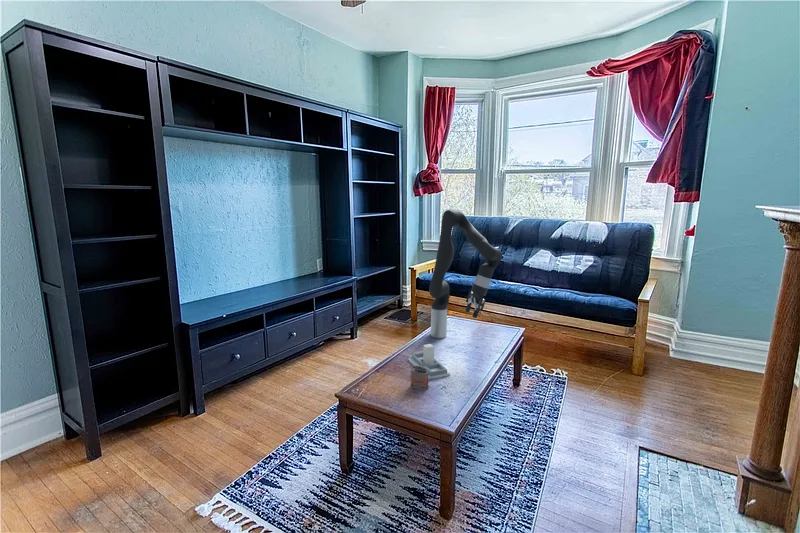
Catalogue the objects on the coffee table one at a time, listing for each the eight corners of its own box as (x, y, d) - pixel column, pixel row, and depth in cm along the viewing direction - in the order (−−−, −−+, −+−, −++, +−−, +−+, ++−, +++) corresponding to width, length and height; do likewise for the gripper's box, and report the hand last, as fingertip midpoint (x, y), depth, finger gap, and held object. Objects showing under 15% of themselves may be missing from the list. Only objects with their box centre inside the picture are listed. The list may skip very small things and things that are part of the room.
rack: (408, 360, 197) (408, 354, 196) (429, 356, 201) (429, 351, 201) (427, 379, 177) (427, 373, 176) (450, 375, 181) (450, 368, 181)
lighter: (429, 386, 170) (429, 365, 169) (427, 390, 167) (427, 368, 165) (411, 383, 173) (412, 362, 171) (409, 387, 170) (409, 366, 168)
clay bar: (423, 364, 190) (423, 345, 188) (430, 363, 191) (430, 343, 189) (426, 367, 187) (426, 347, 185) (433, 365, 188) (434, 346, 186)
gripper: (468, 279, 202) (458, 308, 204) (481, 286, 188) (470, 317, 191) (481, 283, 204) (470, 311, 206) (494, 290, 191) (483, 321, 193)
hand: (470, 314), depth 198 cm, fingers open, 8 cm apart
